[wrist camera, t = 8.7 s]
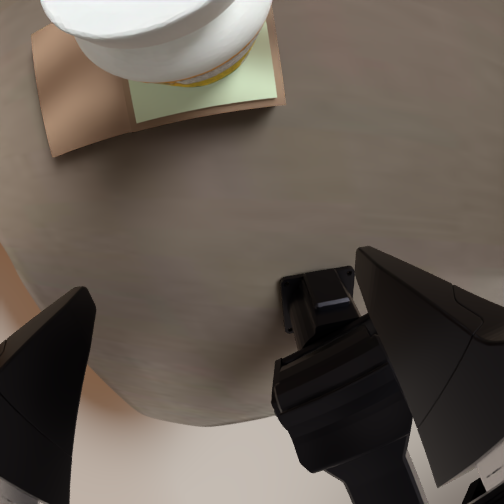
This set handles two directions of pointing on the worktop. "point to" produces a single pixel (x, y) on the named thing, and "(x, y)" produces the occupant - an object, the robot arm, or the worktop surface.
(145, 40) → the supplement bottle
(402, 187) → the worktop surface
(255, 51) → the step stand
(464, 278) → the worktop surface
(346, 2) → the worktop surface
